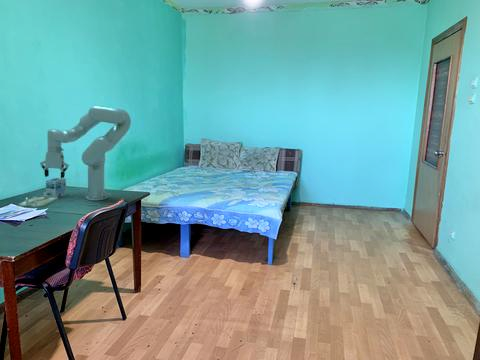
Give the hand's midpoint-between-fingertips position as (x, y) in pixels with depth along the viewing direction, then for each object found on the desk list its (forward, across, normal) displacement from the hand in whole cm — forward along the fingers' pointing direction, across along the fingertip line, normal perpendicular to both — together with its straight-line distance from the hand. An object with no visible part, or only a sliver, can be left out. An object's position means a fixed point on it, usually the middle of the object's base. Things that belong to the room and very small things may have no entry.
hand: (54, 177), depth 228 cm
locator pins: (+12, +1, +17) cm, 21 cm away
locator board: (+12, +1, +17) cm, 21 cm away
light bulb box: (+12, -1, 0) cm, 12 cm away
